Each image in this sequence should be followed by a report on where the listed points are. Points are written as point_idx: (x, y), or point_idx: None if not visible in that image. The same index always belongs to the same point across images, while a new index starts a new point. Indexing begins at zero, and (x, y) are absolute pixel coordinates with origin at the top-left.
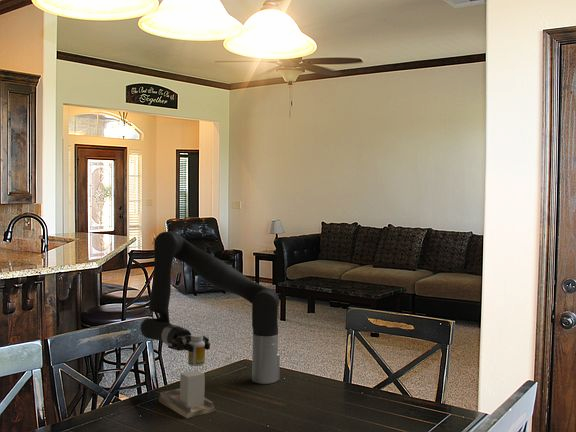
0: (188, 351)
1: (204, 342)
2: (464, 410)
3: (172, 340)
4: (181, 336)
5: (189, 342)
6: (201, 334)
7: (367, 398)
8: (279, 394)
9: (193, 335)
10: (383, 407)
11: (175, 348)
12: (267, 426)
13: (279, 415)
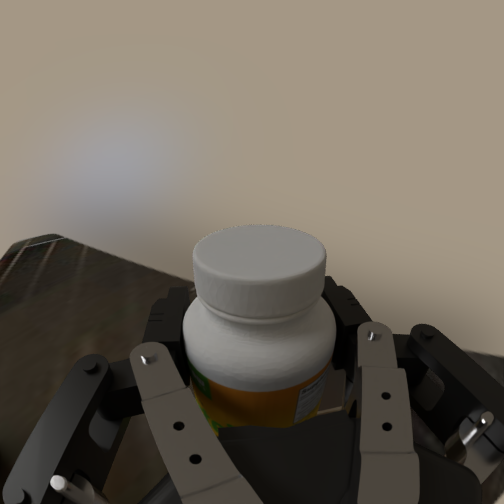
0: (325, 383)
1: (194, 300)
2: (12, 247)
3: (499, 416)
4: (418, 489)
5: (331, 320)
6: (201, 249)
7: (3, 294)
8: (38, 378)
9: (300, 245)
10: (29, 272)
11: (435, 385)
12: None
13: (143, 306)
